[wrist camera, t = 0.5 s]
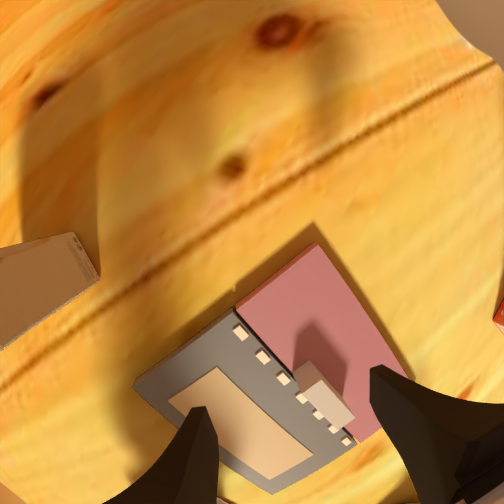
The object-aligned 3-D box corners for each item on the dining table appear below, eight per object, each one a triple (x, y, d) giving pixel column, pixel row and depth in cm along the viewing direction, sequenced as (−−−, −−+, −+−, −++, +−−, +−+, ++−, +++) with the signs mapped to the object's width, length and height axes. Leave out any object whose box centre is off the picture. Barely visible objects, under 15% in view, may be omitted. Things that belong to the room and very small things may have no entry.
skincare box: (74, 228, 20) (-42, 251, 8) (103, 279, 21) (5, 346, 9) (22, 271, 20) (-85, 314, 8) (48, 317, 21) (-46, 388, 9)
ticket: (270, 486, 25) (272, 496, 24) (135, 379, 22) (131, 388, 21) (353, 437, 25) (358, 445, 24) (232, 306, 22) (232, 313, 21)
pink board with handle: (355, 435, 25) (372, 462, 21) (235, 304, 22) (238, 326, 18) (413, 390, 25) (435, 412, 21) (313, 242, 22) (333, 250, 18)
